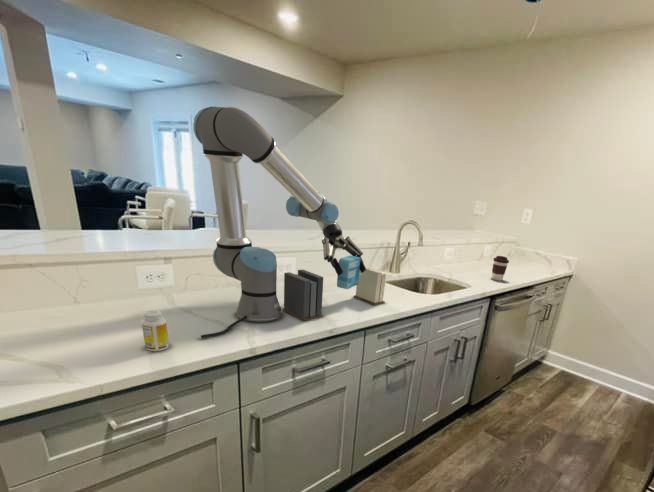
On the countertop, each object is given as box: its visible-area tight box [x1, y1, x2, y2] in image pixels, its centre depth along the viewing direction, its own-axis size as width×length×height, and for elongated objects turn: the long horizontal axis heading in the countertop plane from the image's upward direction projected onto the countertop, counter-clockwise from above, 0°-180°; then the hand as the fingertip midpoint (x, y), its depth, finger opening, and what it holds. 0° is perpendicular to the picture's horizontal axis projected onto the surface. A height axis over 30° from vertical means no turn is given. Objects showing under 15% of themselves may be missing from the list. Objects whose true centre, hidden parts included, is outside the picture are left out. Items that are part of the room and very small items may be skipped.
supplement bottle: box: [141, 310, 170, 352], centre depth 104 cm, size 6×6×10 cm
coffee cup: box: [491, 255, 510, 282], centre depth 251 cm, size 10×10×15 cm
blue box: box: [336, 254, 361, 290], centre depth 158 cm, size 12×4×12 cm, turn 162°
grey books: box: [282, 268, 324, 322], centre depth 143 cm, size 8×13×15 cm, turn 51°
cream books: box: [353, 266, 387, 306], centre depth 170 cm, size 7×13×14 cm, turn 51°
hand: (352, 272), depth 157 cm, fingers closed on blue box, 13 cm apart
